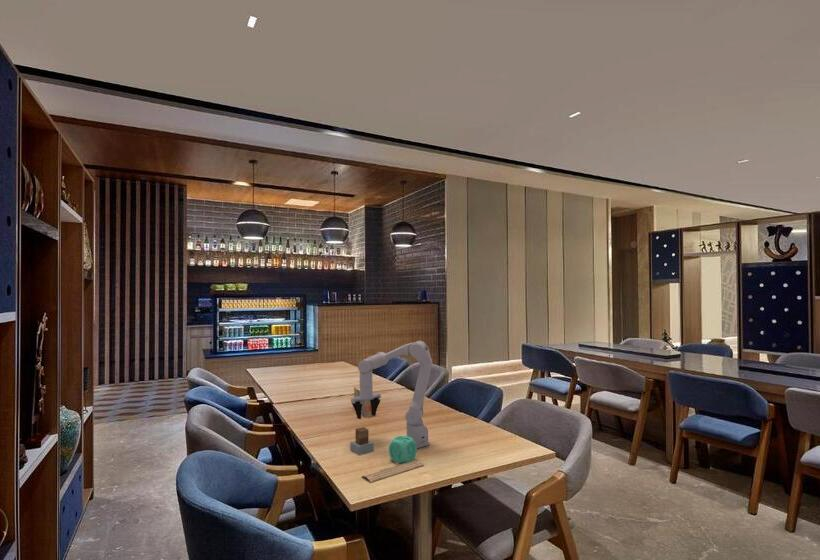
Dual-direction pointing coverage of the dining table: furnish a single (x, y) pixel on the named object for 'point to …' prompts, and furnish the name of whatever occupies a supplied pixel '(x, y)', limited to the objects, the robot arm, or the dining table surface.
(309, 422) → the dining table surface
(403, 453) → the decorative dice
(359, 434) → the walnut block
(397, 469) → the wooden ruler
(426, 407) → the dining table surface
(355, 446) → the pedestal block
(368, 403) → the stack of blocks
